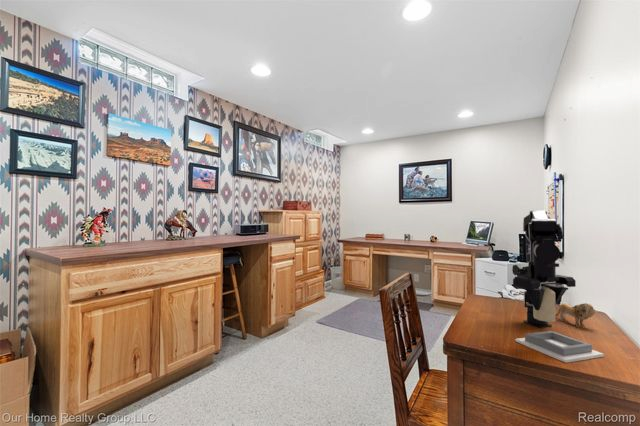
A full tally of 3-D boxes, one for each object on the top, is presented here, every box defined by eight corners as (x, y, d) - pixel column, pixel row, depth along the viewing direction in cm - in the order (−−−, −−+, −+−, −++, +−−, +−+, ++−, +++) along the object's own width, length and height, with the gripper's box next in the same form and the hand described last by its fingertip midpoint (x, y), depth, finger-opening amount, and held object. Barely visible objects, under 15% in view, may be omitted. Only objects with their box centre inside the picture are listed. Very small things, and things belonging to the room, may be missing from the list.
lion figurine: (599, 329, 107) (599, 304, 107) (588, 330, 106) (588, 305, 106) (558, 316, 121) (557, 294, 122) (547, 317, 120) (547, 295, 120)
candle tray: (549, 336, 99) (549, 328, 99) (603, 356, 85) (603, 346, 85) (515, 341, 95) (515, 332, 95) (566, 362, 81) (566, 352, 81)
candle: (559, 322, 89) (559, 289, 89) (538, 321, 90) (538, 288, 90) (549, 317, 94) (549, 285, 94) (530, 315, 95) (529, 284, 96)
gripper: (541, 255, 103) (541, 300, 102) (498, 256, 98) (498, 304, 97) (576, 259, 92) (577, 310, 92) (529, 261, 87) (530, 314, 87)
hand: (544, 309), depth 92 cm, fingers closed on candle, 5 cm apart
